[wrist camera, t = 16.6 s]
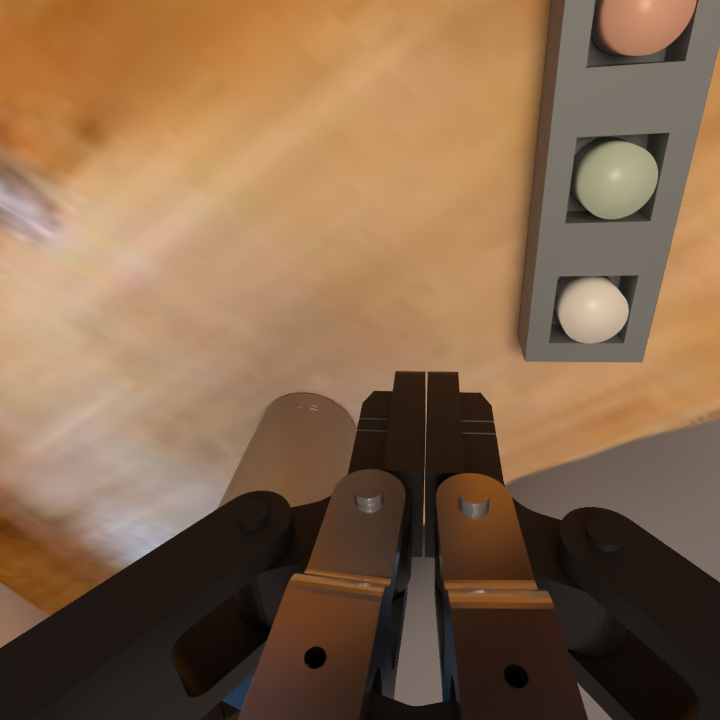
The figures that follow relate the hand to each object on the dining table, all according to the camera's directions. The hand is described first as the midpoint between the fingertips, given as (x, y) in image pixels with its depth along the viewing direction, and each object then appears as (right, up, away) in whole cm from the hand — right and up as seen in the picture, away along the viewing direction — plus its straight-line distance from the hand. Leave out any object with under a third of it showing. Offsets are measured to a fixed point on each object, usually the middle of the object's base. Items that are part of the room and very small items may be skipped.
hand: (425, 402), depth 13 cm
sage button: (+14, +13, +20) cm, 28 cm away
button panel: (+14, +14, +21) cm, 29 cm away
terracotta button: (+13, +20, +16) cm, 29 cm away
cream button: (+14, +6, +24) cm, 29 cm away
